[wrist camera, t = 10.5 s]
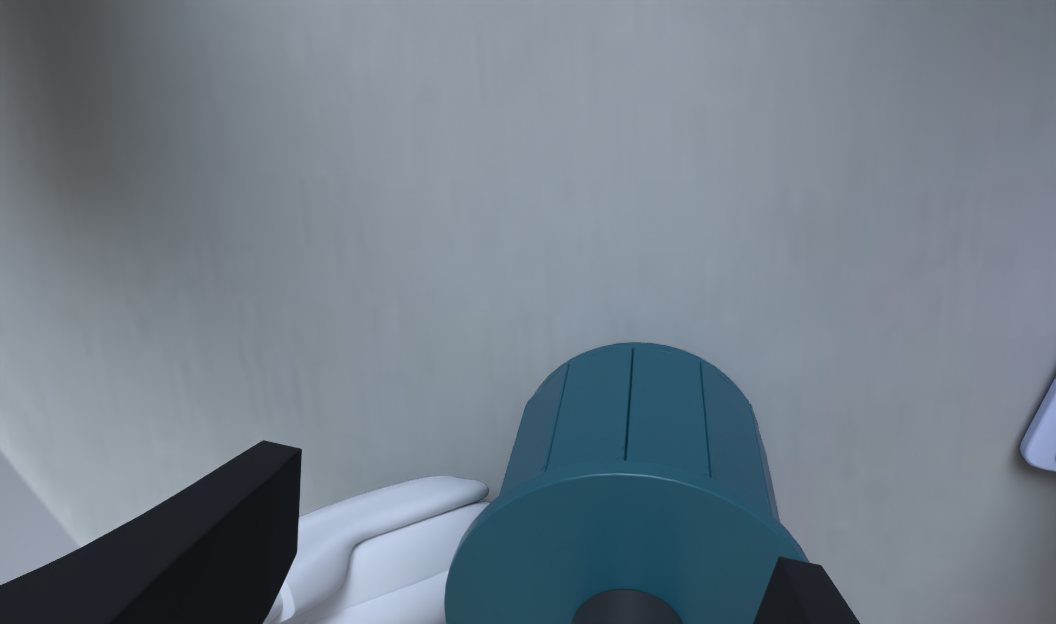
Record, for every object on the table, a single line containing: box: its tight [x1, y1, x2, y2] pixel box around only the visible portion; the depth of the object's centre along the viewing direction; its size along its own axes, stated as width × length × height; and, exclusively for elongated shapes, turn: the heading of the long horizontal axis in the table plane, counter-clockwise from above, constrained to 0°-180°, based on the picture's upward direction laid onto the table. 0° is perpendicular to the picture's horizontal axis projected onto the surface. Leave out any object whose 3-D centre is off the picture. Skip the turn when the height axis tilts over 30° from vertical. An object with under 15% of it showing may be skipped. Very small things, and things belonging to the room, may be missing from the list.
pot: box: [499, 343, 780, 522], centre depth 20 cm, size 7×7×6 cm
